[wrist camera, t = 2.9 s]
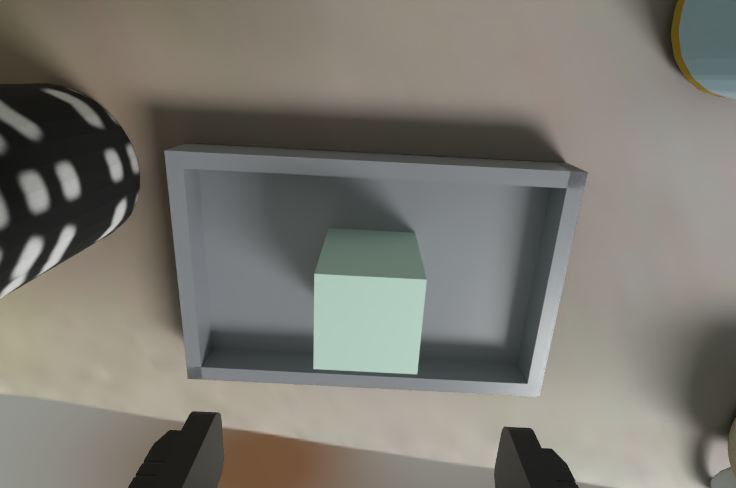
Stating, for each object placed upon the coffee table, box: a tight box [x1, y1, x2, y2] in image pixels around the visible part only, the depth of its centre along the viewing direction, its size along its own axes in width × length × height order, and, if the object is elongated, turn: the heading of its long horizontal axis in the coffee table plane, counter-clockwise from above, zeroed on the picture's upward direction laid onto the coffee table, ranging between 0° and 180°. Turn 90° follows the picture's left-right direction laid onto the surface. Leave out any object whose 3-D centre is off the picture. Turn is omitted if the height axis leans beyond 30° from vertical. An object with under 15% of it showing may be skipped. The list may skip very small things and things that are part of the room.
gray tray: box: [164, 143, 588, 397], centre depth 24 cm, size 20×13×2 cm, turn 87°
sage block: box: [313, 228, 427, 374], centre depth 22 cm, size 5×5×6 cm
